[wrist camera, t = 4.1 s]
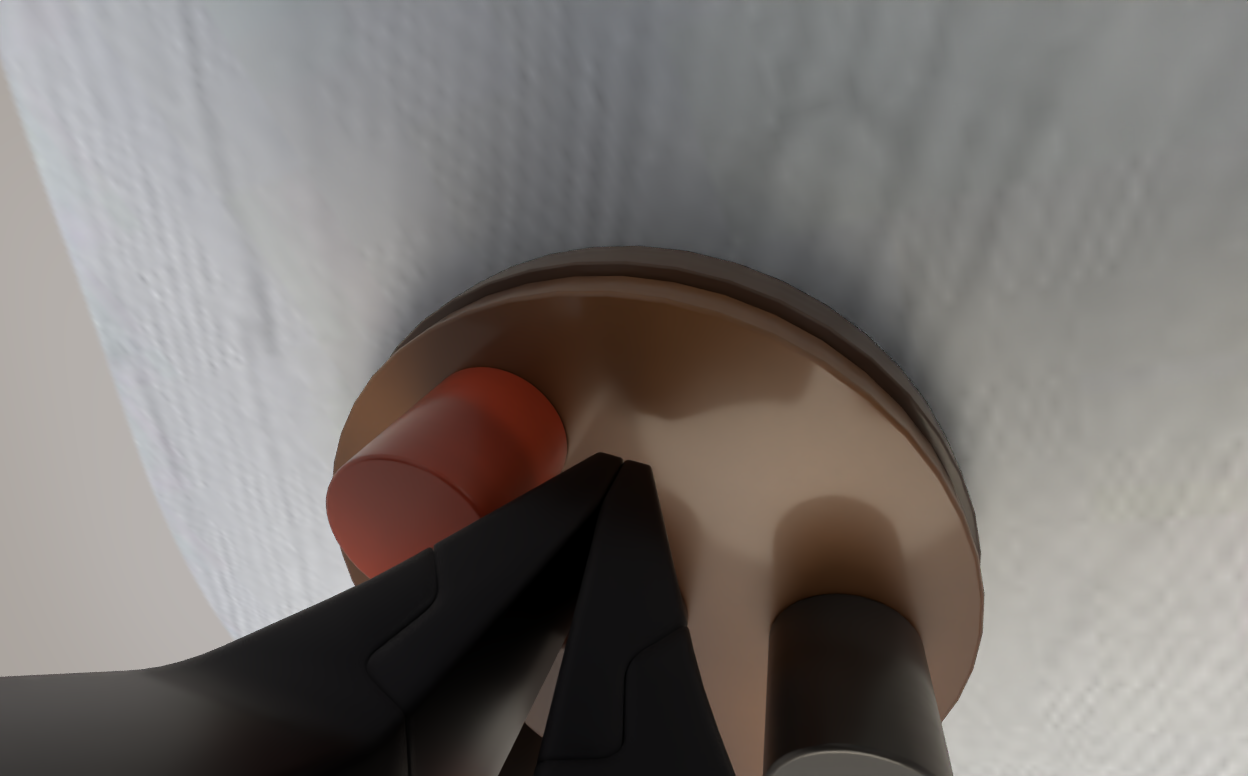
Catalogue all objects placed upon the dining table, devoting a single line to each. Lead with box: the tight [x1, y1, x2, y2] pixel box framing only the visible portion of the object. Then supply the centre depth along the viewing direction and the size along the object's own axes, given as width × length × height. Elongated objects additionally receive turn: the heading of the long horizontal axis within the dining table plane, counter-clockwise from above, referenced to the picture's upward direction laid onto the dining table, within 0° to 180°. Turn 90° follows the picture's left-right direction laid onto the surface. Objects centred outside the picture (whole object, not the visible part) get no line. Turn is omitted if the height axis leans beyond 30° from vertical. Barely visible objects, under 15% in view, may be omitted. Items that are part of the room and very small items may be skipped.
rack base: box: [390, 246, 981, 562], centre depth 14 cm, size 14×14×1 cm
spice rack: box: [326, 276, 984, 776], centre depth 12 cm, size 14×14×4 cm
